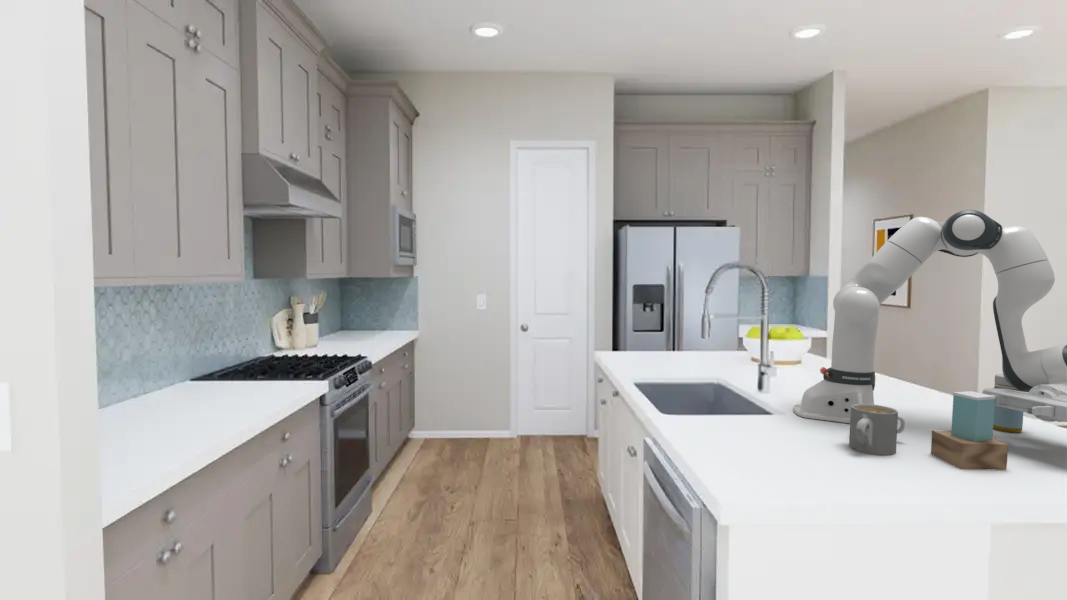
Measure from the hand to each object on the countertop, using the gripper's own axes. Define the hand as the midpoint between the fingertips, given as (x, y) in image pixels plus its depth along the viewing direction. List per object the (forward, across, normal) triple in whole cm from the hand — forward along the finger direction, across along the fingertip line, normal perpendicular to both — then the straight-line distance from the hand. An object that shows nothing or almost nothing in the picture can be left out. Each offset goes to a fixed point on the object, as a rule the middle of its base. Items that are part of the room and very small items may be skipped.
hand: (1008, 405), depth 135 cm
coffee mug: (+27, -13, +13) cm, 33 cm away
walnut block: (+12, 0, +13) cm, 17 cm away
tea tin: (+11, 0, +7) cm, 13 cm away
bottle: (-26, -18, +13) cm, 35 cm away
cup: (+18, -18, +13) cm, 28 cm away
